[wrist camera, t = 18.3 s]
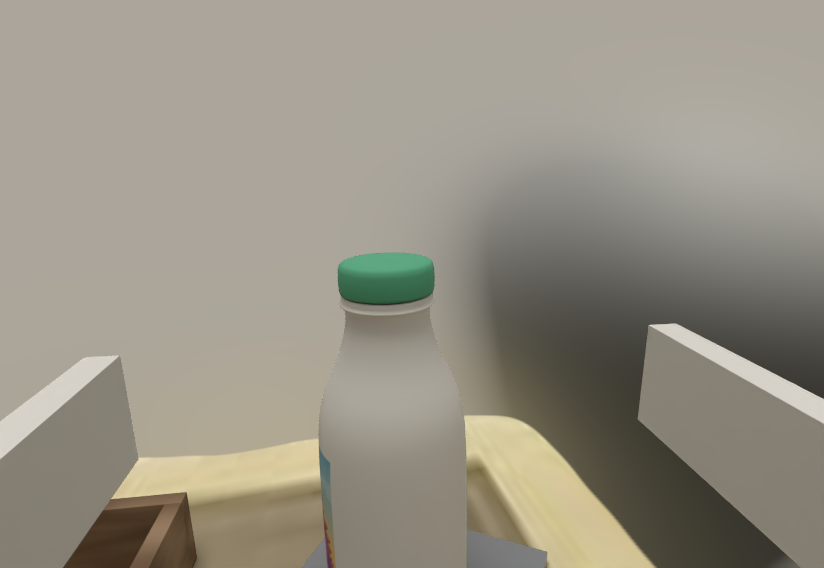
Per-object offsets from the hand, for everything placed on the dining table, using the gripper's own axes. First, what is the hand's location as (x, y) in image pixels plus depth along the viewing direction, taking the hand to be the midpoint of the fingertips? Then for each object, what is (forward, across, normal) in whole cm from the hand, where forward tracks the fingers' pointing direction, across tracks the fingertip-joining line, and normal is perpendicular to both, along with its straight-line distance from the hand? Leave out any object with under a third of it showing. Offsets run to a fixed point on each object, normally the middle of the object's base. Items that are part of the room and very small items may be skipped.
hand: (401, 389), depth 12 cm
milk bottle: (+11, +1, -19) cm, 22 cm away
